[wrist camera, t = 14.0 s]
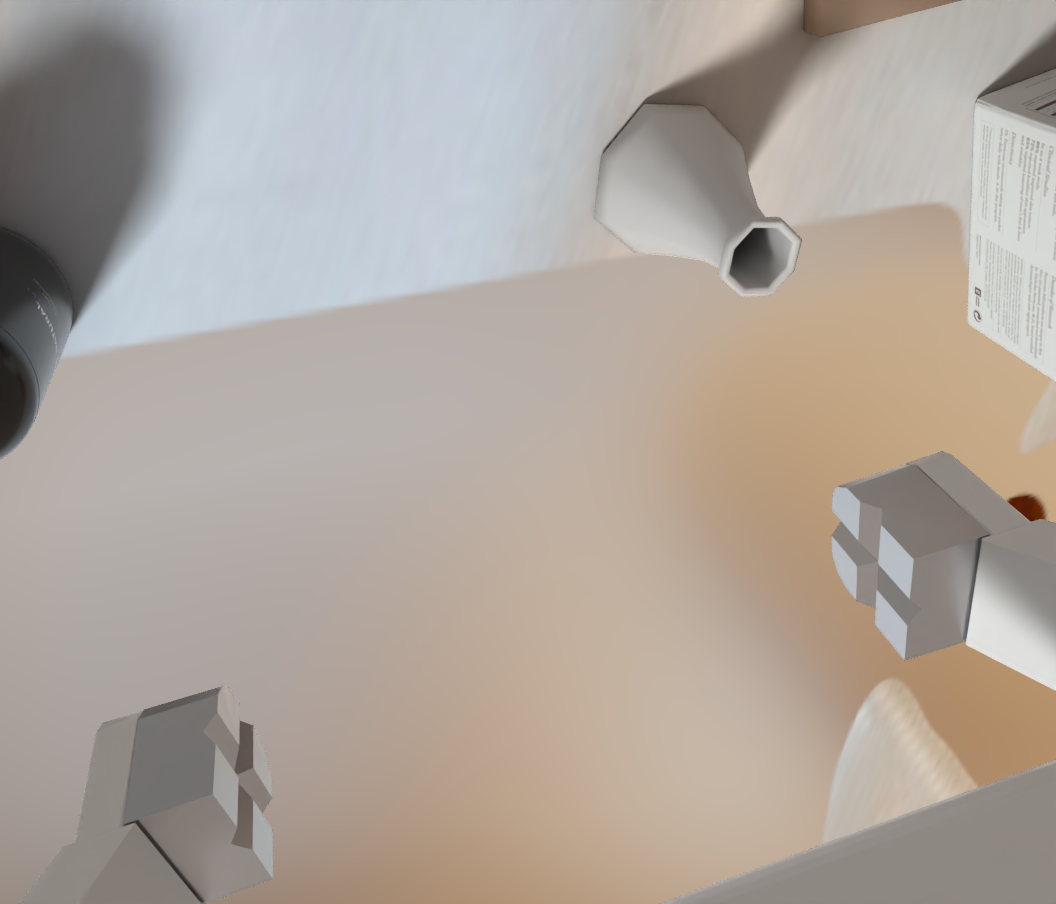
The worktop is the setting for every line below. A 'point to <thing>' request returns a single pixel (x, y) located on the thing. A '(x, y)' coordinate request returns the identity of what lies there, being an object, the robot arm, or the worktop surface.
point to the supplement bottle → (28, 333)
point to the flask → (692, 198)
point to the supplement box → (1015, 220)
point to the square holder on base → (858, 13)
